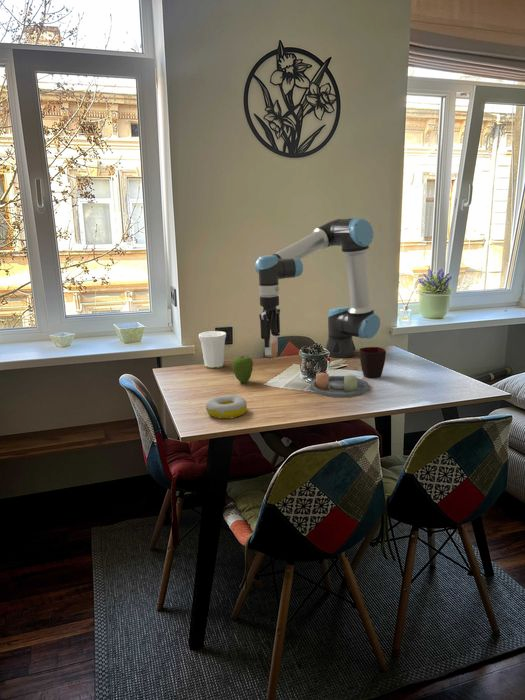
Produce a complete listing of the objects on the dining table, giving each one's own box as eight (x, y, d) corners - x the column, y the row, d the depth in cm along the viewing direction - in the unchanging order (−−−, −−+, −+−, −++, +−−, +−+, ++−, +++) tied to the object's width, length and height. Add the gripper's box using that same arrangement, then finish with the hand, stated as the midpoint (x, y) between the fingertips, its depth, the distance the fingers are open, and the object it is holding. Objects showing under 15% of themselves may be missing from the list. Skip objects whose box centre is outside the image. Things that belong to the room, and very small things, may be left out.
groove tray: (301, 385, 201) (300, 380, 200) (348, 378, 209) (348, 373, 208) (328, 403, 181) (328, 397, 181) (379, 394, 189) (379, 388, 188)
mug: (365, 382, 203) (366, 353, 200) (352, 373, 216) (353, 345, 213) (388, 380, 204) (389, 351, 202) (374, 371, 218) (375, 344, 215)
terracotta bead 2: (313, 388, 194) (313, 374, 193) (320, 385, 198) (320, 371, 196) (324, 390, 191) (324, 377, 190) (330, 387, 195) (330, 373, 193)
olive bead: (341, 390, 191) (341, 376, 189) (352, 389, 192) (352, 375, 191) (348, 394, 186) (348, 380, 185) (359, 392, 188) (359, 378, 187)
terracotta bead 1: (263, 355, 205) (263, 342, 203) (274, 353, 206) (274, 340, 205) (268, 357, 200) (267, 344, 199) (279, 356, 202) (278, 343, 201)
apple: (244, 377, 214) (243, 351, 211) (258, 381, 208) (257, 354, 205) (228, 382, 208) (227, 355, 205) (242, 386, 202) (241, 359, 199)
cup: (196, 369, 228) (194, 336, 225) (206, 361, 240) (205, 330, 236) (221, 370, 225) (220, 337, 221) (231, 363, 236) (230, 331, 233)
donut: (205, 421, 168) (204, 407, 166) (207, 407, 181) (206, 393, 180) (247, 419, 168) (246, 405, 167) (246, 405, 182) (245, 392, 180)
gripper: (267, 299, 188) (269, 359, 194) (287, 292, 203) (289, 348, 209) (249, 298, 191) (252, 357, 197) (271, 292, 206) (273, 347, 212)
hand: (271, 353), depth 203 cm, fingers closed on terracotta bead 1, 5 cm apart
